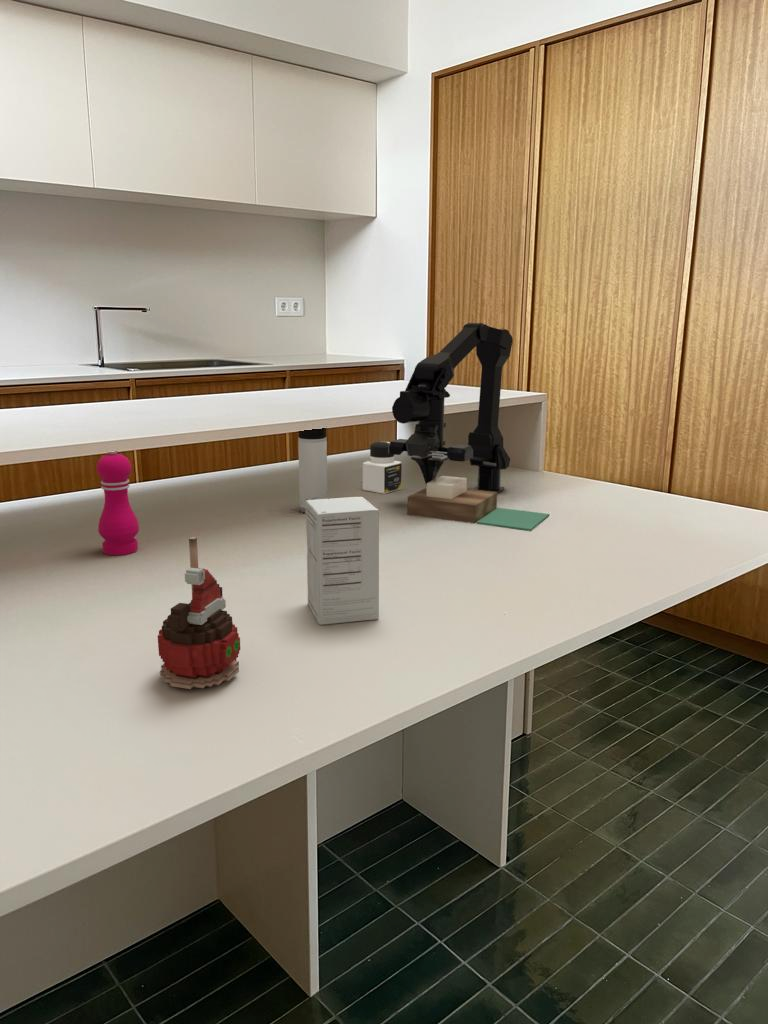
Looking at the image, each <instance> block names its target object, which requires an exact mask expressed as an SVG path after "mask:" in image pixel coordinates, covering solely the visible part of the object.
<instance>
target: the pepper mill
mask: <svg viewBox="0 0 768 1024" xmlns="http://www.w3.org/2000/svg"><path fill="white" fill-rule="evenodd" d="M118 452H119V451H115V452H108V451H107V453H108V454H105V455H103V456H102V457H100V458H99V459H98V461H97V463H96V473H97V474H98V476H99V477H100V479H102V480H101V481H100V484H101V486H100V487H101V488H100V489H102V490H103V494H104V504H103V509H102V512H101V514H100V517H99V521H98V527H97V528H98V529H97V530H98V534H99V535H100V537H101V538H103V539H104V541H103V542H102V544H101V545H102V552H103V553H104V554H105V555H108V556H126V555H129V554H134V553H135V552H137V551H138V549H139V546H138V545H139V544H138V539H136V538H135V537H136V536H137V535H138V534H139V531H140V526H139V521H138V518H137V515H136V514H135V513H134V511H133V509H132V507H131V504H130V501H129V494H128V493H129V492H128V490H129V488H130V486H131V485H130V479H129V478H128V477H129V476H130V475H131V472H132V464H131V461H130V460H129V458H128V457H126V456H125V455H123V454H120V453H118Z"/></svg>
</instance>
